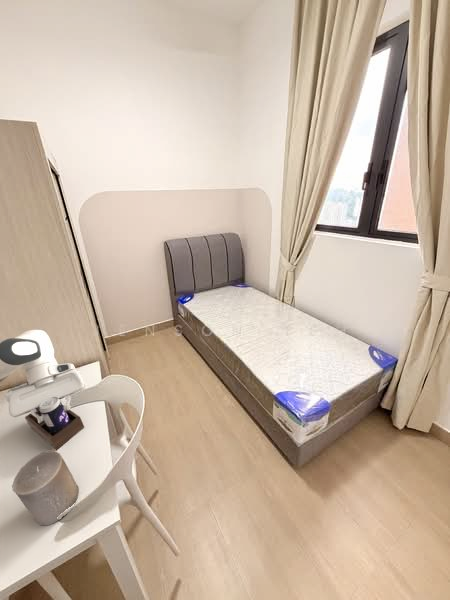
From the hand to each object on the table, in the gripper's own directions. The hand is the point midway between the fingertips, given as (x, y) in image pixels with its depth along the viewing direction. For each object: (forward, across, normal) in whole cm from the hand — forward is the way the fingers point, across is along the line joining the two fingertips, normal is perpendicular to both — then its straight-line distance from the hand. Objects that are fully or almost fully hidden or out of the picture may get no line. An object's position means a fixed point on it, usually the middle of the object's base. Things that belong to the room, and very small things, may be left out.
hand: (55, 416), depth 76 cm
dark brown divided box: (+3, -2, +9) cm, 10 cm away
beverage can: (+4, 0, +5) cm, 7 cm away
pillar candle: (+22, -2, -10) cm, 24 cm away
